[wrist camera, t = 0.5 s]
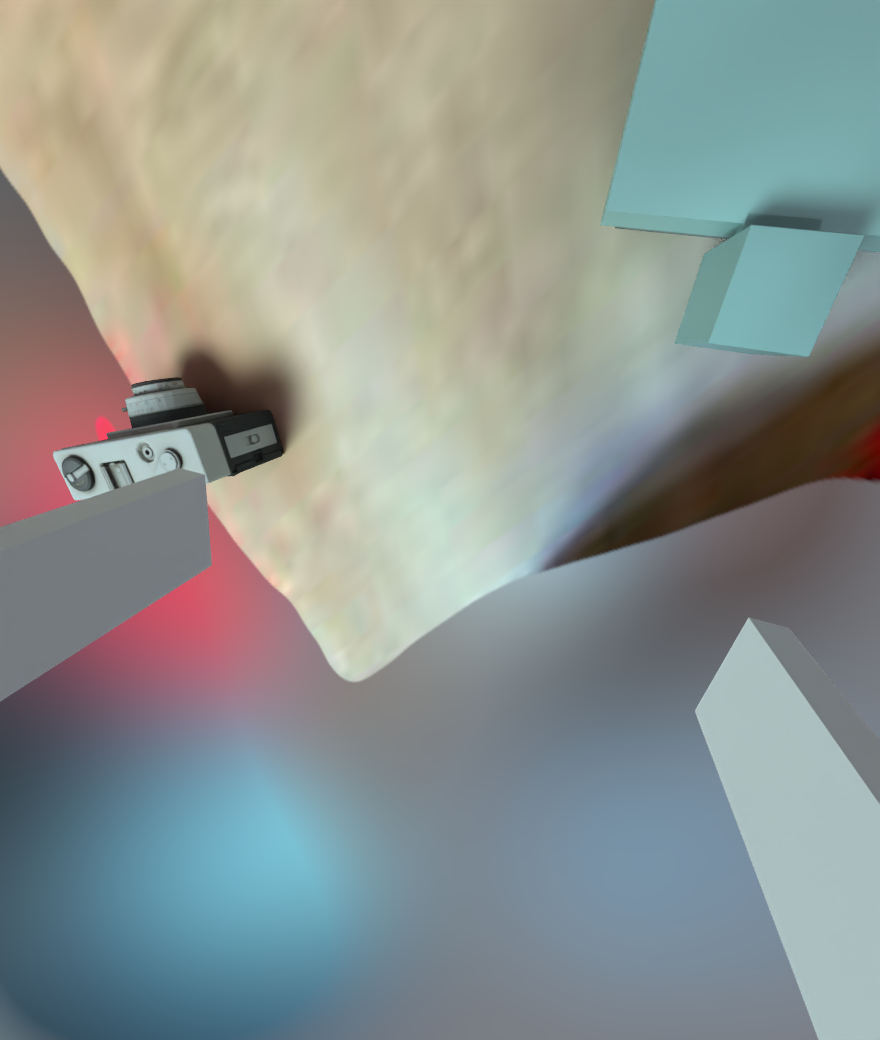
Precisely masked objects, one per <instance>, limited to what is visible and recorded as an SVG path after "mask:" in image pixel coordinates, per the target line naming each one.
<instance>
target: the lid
mask: <svg viewBox="0 0 880 1040" xmlns="http://www.w3.org/2000/svg"><path fill="white" fill-rule="evenodd" d="M600 225H605V226H616V227H626V228H636V229H646V230H657V231H667V232H677V233H687V234H697V235H708V236H718V237H728V238H729V239H728V240H726V241H725V242H723V243H721V244H720V245H718V246H716V247H715V248H713V249H712V250H710V251H708V252H707V253H705V254H704V257H703V260H702V263H701V266H700V269H699V272H698V275H697V278H696V281H695V284H694V287H693V290H692V293H691V296H690V299H689V302H688V305H687V308H686V311H685V314H684V317H683V320H682V323H681V326H680V329H679V332H678V335H677V338H676V341H675V343H676V344H683V345H690V346H697V347H704V348H711V349H718V350H725V351H733V352H740V353H747V354H760V355H781V356H801V357H809V355H810V353H811V350H812V348H813V346H814V344H815V342H816V340H817V337H818V335H819V333H820V331H821V329H822V327H823V324H824V322H825V320H826V318H827V316H828V313H829V311H830V309H831V307H832V305H833V303H834V300H835V298H836V296H837V294H838V292H839V290H840V287H841V285H842V283H843V281H844V279H845V277H846V274H847V272H848V270H849V268H850V266H851V264H852V261H853V259H854V257H855V255H856V253H857V250H861V251H871V252H880V0H655V1H654V5H653V10H652V14H651V18H650V22H649V26H648V30H647V34H646V38H645V43H644V47H643V51H642V55H641V59H640V63H639V67H638V71H637V76H636V80H635V84H634V88H633V92H632V96H631V100H630V105H629V109H628V113H627V117H626V121H625V125H624V129H623V133H622V138H621V142H620V146H619V150H618V154H617V158H616V162H615V166H614V171H613V175H612V179H611V183H610V187H609V191H608V195H607V199H606V204H605V208H604V212H603V216H602V220H601V224H600Z"/></svg>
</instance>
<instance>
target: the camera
mask: <svg viewBox="0 0 880 1040" xmlns="http://www.w3.org/2000/svg"><path fill="white" fill-rule="evenodd" d="M131 386H132V388H131V389H132V391H133V393H134V396H132V397H130V398H127V399H126V400H125V401H126V406H127V407H126V408H122V410H123V412H125V411H128V414H129V418H130V420H131V425H132V428H131V429H126V430H121V431H115V432H110V433H107V436H108V439H107V440H102V441H98V442H93V443H88V444H82V445H77V446H72V447H68V448H63V449H61V450H57V451H54V452H53V457H54V459H55V461H56V463H57V465H58V467H59V469H60V471H61V473H62V476H63V478H64V480H65V482H66V484H67V486H68V488H69V490H70V492H71V494H72V496H73V498H74V499H75V500H82V499H87V498H90V497H93V496H96V495H99V494H102V493H105V492H108V491H111V490H115V489H118V488H121V487H124V486H127V485H130V484H133V483H136V482H139V481H142V480H145V479H148V478H151V477H154V476H157V475H160V474H163V473H166V472H169V471H172V470H175V469H178V468H181V469H185V470H189V471H193V472H197V473H200V474H204V475H205V481H206V484H207V483H210V482H212V481H215V480H218V479H220V478H223V477H225V476H235V475H237V474H238V473H240V472H243V471H245V470H248V469H250V468H253V467H255V466H258V465H260V464H263V463H265V462H268V461H271V460H273V459H276V458H278V457H281V456H282V452H283V449H282V445H281V441H280V438H279V435H278V432H277V428H276V425H275V422H274V419H273V416H272V413H271V412H270V411H269V410H263V411H257V412H251V413H246V414H240V415H234V416H233V413H232V410H228V411H222V412H217V413H211V414H208V412H207V410H206V408H205V406H204V404H206V403H203V402H202V400H201V398H200V396H199V394H198V393H197V391H196V389H195V388H185V385H184V382H183V380H182V378H179V377H178V378H166V379H158V380H151V381H145V382H140V383H136V384H133V385H131Z"/></svg>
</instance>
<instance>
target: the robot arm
mask: <svg viewBox="0 0 880 1040" xmlns="http://www.w3.org/2000/svg"><path fill="white" fill-rule="evenodd" d="M210 550H211V549H210V537H209V522H208V508H207V495H206V481H205V475H204V474H200V473H197V472H193V471H189V470H185V469H181V468H178V469H175V470H172V471H169V472H166V473H163V474H160V475H157V476H154V477H151V478H148V479H145V480H142V481H139V482H136V483H133V484H130V485H127V486H124V487H121V488H118V489H115V490H111V491H108V492H105V493H102V494H99V495H96V496H93V497H90V498H87V499H84V500H81V501H78V502H76V503H72V504H69V505H66V506H63V507H60V508H57V509H54V510H51V511H48V512H45V513H42V514H39V515H36V516H33V517H30V518H27V519H24V520H21V521H18V522H15V523H11V524H8V525H5V526H2V527H0V701H1V700H3V699H4V698H6V697H8V696H9V695H11V694H12V693H14V692H15V691H17V690H19V689H20V688H22V687H23V686H25V685H26V684H28V683H29V682H31V681H33V680H34V679H36V678H37V677H39V676H40V675H42V674H43V673H45V672H46V671H48V670H50V669H51V668H53V667H54V666H56V665H57V664H59V663H60V662H62V661H64V660H65V659H67V658H68V657H70V656H71V655H73V654H75V653H76V652H78V651H79V650H81V649H82V648H84V647H85V646H87V645H89V644H90V643H92V642H93V641H95V640H96V639H98V638H99V637H101V636H102V635H104V634H106V633H107V632H109V631H110V630H112V629H113V628H115V627H117V626H118V625H120V624H121V623H123V622H124V621H126V620H127V619H129V618H130V617H132V616H134V615H135V614H137V613H138V612H140V611H141V610H143V609H145V608H146V607H148V606H149V605H151V604H152V603H154V602H155V601H157V600H159V599H160V598H162V597H163V596H165V595H166V594H168V593H169V592H171V591H173V590H174V589H176V588H177V587H179V586H180V585H182V584H183V583H185V582H187V581H188V580H190V579H191V578H193V577H194V576H196V575H197V574H199V573H201V572H202V571H204V570H205V569H207V568H208V567H210V566H211V565H212V562H211V551H210ZM695 712H696V715H697V717H698V721H699V723H700V726H701V728H702V731H703V734H704V737H705V739H706V742H707V744H708V747H709V750H710V752H711V755H712V758H713V760H714V763H715V766H716V768H717V771H718V774H719V776H720V779H721V782H722V784H723V787H724V789H725V792H726V795H727V798H728V800H729V803H730V806H731V808H732V811H733V813H734V816H735V819H736V821H737V824H738V826H739V829H740V832H741V835H742V837H743V840H744V842H745V845H746V848H747V851H748V853H749V856H750V859H751V861H752V864H753V867H754V869H755V872H756V875H757V877H758V880H759V882H760V885H761V888H762V890H763V893H764V896H765V898H766V901H767V903H768V906H769V909H770V912H771V914H772V917H773V919H774V922H775V925H776V928H777V930H778V933H779V936H780V938H781V941H782V944H783V946H784V949H785V952H786V954H787V957H788V959H789V962H790V965H791V967H792V970H793V973H794V975H795V978H796V980H797V983H798V986H799V988H800V991H801V994H802V997H803V999H804V1002H805V1005H806V1007H807V1010H808V1012H809V1015H810V1018H811V1021H812V1023H813V1026H814V1028H815V1031H816V1034H817V1036H818V1039H819V1040H880V740H879V738H878V737H877V736H876V735H875V734H874V732H873V731H872V730H871V729H870V727H869V726H868V725H867V724H866V723H865V721H864V720H863V719H862V718H861V717H860V715H859V714H858V713H857V712H856V710H855V709H854V708H853V707H852V705H851V704H850V703H849V702H848V700H847V699H846V698H845V697H844V696H843V694H842V693H841V692H840V691H839V689H838V688H837V687H836V686H835V685H834V683H833V682H832V681H831V680H830V678H829V677H828V676H827V675H826V674H825V672H824V671H823V670H822V669H821V668H820V666H819V665H818V664H817V662H816V661H815V660H814V659H813V658H812V656H811V655H810V654H809V653H808V651H807V650H806V649H805V648H804V647H803V646H802V644H801V643H800V642H799V641H798V639H797V638H796V637H795V635H794V634H793V633H792V632H791V631H790V629H789V628H786V627H782V626H779V625H775V624H771V623H767V622H763V621H759V620H756V619H752V618H748V620H747V622H746V623H745V625H744V627H743V628H742V630H741V632H740V634H739V635H738V637H737V639H736V641H735V642H734V644H733V646H732V647H731V649H730V651H729V653H728V654H727V656H726V658H725V660H724V661H723V663H722V665H721V667H720V668H719V670H718V672H717V673H716V675H715V677H714V679H713V680H712V682H711V684H710V686H709V687H708V689H707V691H706V693H705V694H704V696H703V698H702V700H701V701H700V703H699V705H698V706H697V708H696V710H695Z"/></svg>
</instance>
